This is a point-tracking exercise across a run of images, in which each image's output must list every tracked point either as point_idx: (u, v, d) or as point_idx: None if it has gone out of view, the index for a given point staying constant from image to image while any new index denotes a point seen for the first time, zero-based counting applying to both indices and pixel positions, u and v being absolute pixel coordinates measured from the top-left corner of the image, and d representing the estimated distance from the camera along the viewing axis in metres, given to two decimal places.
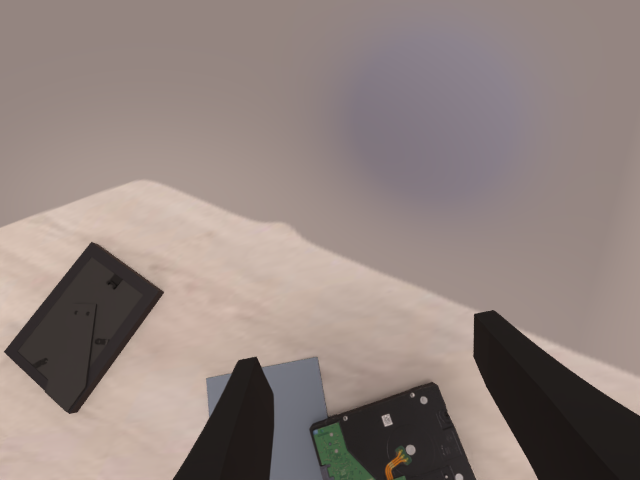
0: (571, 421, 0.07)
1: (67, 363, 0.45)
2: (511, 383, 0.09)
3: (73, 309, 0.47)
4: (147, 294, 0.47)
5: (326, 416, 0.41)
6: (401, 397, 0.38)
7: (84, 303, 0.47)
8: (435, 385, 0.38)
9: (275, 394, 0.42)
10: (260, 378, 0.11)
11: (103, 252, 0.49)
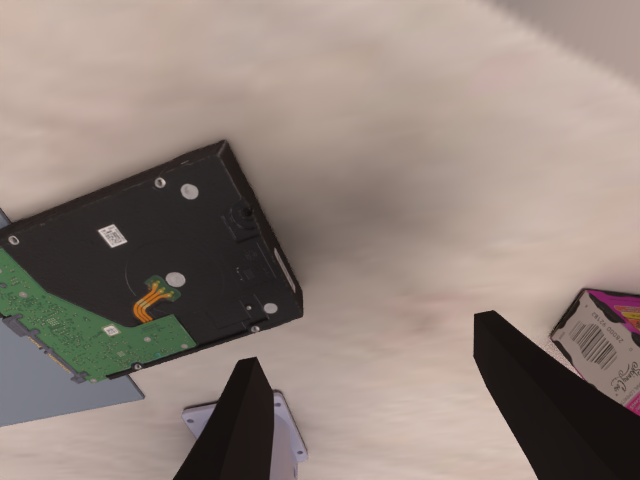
0: (571, 421, 0.07)
1: None
2: (511, 383, 0.09)
3: None
4: None
5: (4, 222, 0.19)
6: (133, 188, 0.15)
7: None
8: (214, 157, 0.15)
9: None
10: (260, 378, 0.11)
11: None
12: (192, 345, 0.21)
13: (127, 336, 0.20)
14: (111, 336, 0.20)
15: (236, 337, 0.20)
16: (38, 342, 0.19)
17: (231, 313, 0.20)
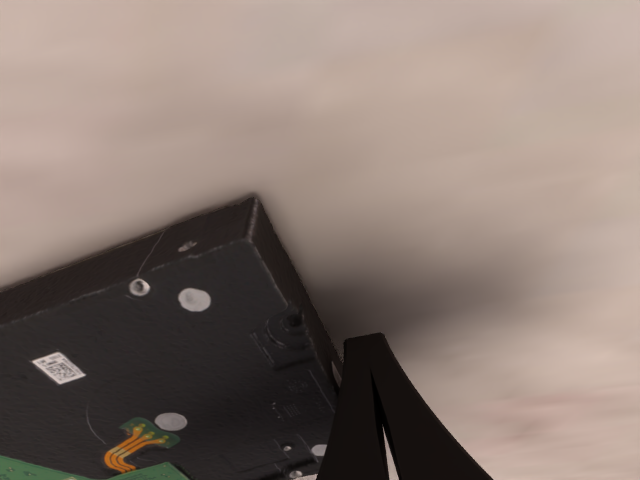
0: (397, 451, 0.07)
1: None
2: (380, 407, 0.10)
3: None
4: None
5: None
6: (89, 298, 0.08)
7: None
8: (241, 244, 0.08)
9: None
10: None
11: None
12: None
13: None
14: None
15: None
16: None
17: (259, 453, 0.13)
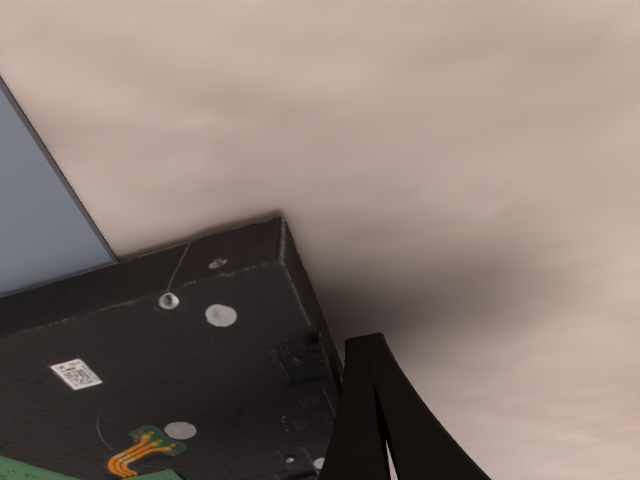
0: (396, 451, 0.07)
1: None
2: (379, 407, 0.10)
3: None
4: None
5: None
6: (117, 309, 0.08)
7: None
8: (274, 265, 0.08)
9: None
10: None
11: None
12: None
13: None
14: None
15: None
16: None
17: (261, 463, 0.13)
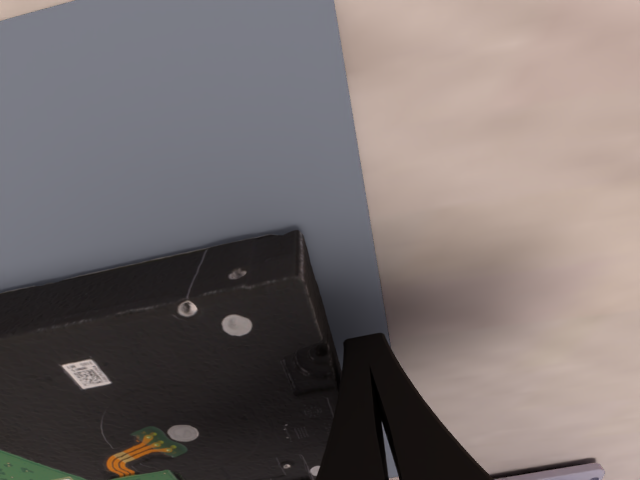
0: (398, 451, 0.07)
1: None
2: (380, 407, 0.10)
3: None
4: None
5: (365, 219, 0.10)
6: (136, 314, 0.08)
7: None
8: (294, 281, 0.08)
9: (133, 155, 0.09)
10: None
11: None
12: None
13: None
14: None
15: None
16: None
17: (258, 468, 0.13)
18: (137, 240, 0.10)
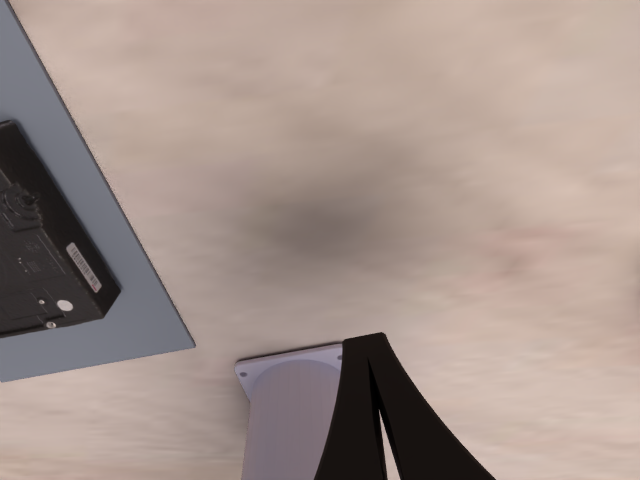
0: (399, 451, 0.07)
1: None
2: (382, 407, 0.10)
3: None
4: None
5: (65, 116, 0.16)
6: None
7: None
8: None
9: None
10: None
11: None
12: None
13: None
14: None
15: (30, 331, 0.19)
16: None
17: (24, 304, 0.18)
18: None
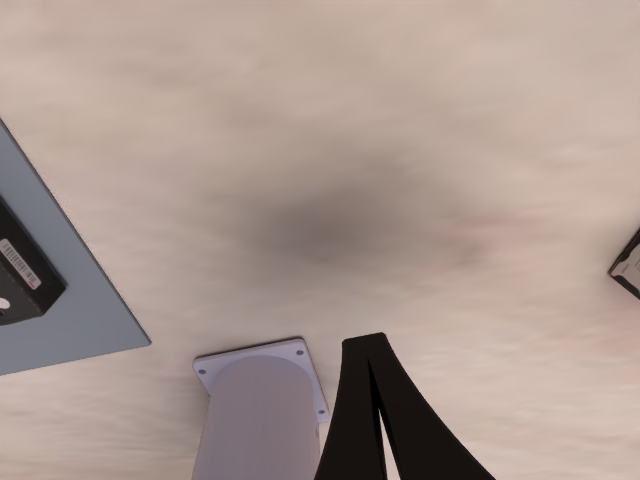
0: (399, 451, 0.07)
1: None
2: (381, 407, 0.10)
3: None
4: None
5: None
6: None
7: None
8: None
9: None
10: None
11: None
12: None
13: None
14: None
15: None
16: None
17: None
18: None
